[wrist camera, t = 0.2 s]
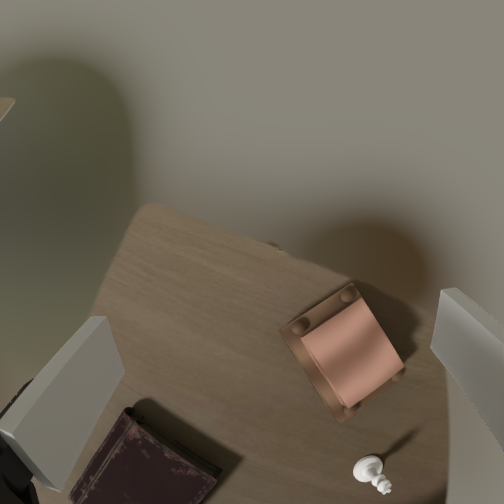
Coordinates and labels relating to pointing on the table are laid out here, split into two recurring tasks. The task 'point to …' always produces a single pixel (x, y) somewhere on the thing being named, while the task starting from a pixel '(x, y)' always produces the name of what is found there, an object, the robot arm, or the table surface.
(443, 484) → the table surface
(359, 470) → the chess piece
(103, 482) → the diary
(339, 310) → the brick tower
